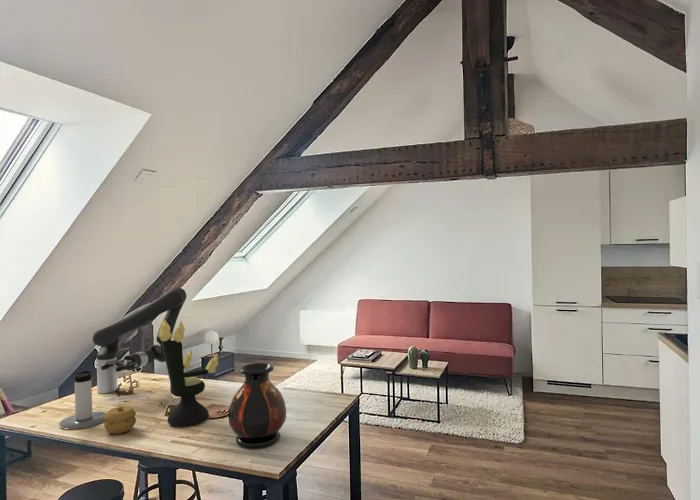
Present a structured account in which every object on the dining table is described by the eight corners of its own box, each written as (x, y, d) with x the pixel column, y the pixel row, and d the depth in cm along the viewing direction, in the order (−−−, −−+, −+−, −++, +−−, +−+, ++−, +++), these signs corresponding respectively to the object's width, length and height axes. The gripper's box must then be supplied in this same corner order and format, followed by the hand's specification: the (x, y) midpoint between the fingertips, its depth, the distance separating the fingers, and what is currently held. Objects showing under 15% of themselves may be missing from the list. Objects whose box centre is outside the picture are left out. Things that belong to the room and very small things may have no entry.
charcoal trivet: (59, 419, 200) (59, 417, 200) (106, 411, 209) (106, 408, 209) (59, 433, 185) (59, 430, 185) (109, 423, 194) (109, 421, 194)
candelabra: (221, 417, 198) (218, 313, 198) (178, 436, 179) (175, 321, 179) (191, 410, 208) (189, 311, 207) (147, 427, 189) (145, 318, 188)
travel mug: (96, 416, 200) (94, 370, 200) (86, 422, 194) (84, 374, 193) (82, 416, 201) (81, 370, 201) (72, 421, 194) (70, 374, 194)
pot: (97, 436, 181) (96, 411, 181) (116, 425, 192) (115, 401, 192) (124, 437, 179) (124, 412, 179) (142, 426, 191) (141, 402, 191)
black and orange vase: (234, 430, 184) (233, 360, 184) (288, 428, 185) (287, 358, 185) (223, 454, 162) (221, 375, 162) (284, 451, 164) (283, 373, 164)
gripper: (124, 351, 228) (97, 359, 213) (147, 354, 224) (121, 362, 208) (124, 366, 228) (96, 375, 213) (147, 369, 224) (121, 378, 208)
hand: (109, 368), depth 210 cm, fingers open, 8 cm apart
